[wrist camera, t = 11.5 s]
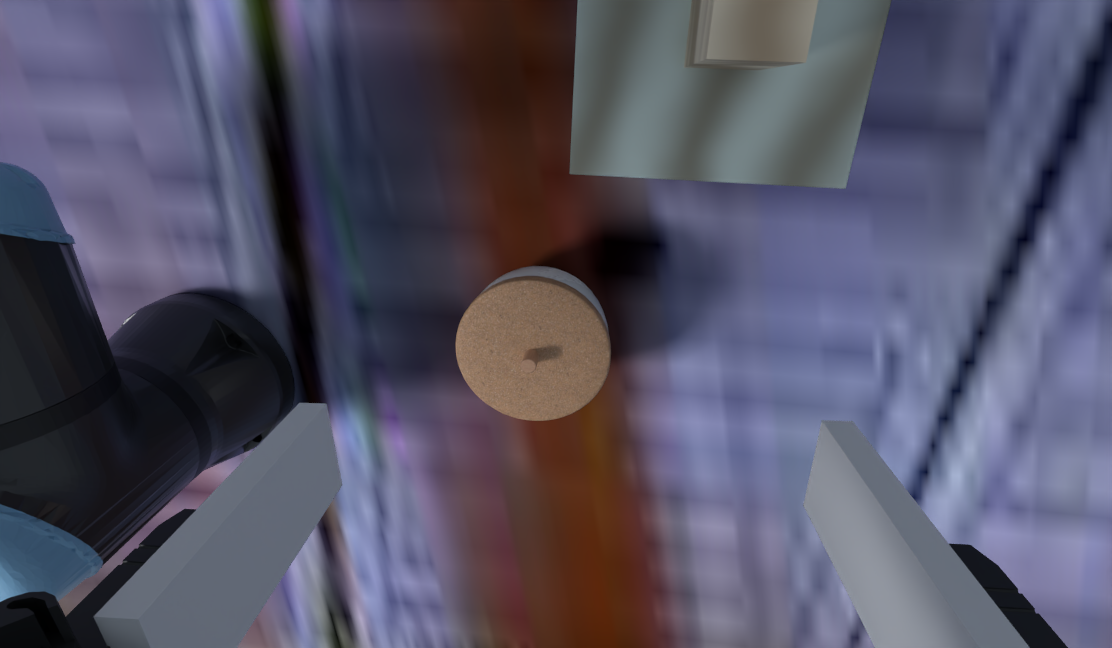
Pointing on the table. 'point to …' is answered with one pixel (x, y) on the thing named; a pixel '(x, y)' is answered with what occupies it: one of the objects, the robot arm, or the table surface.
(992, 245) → the table surface
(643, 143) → the lid
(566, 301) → the lidded jar
